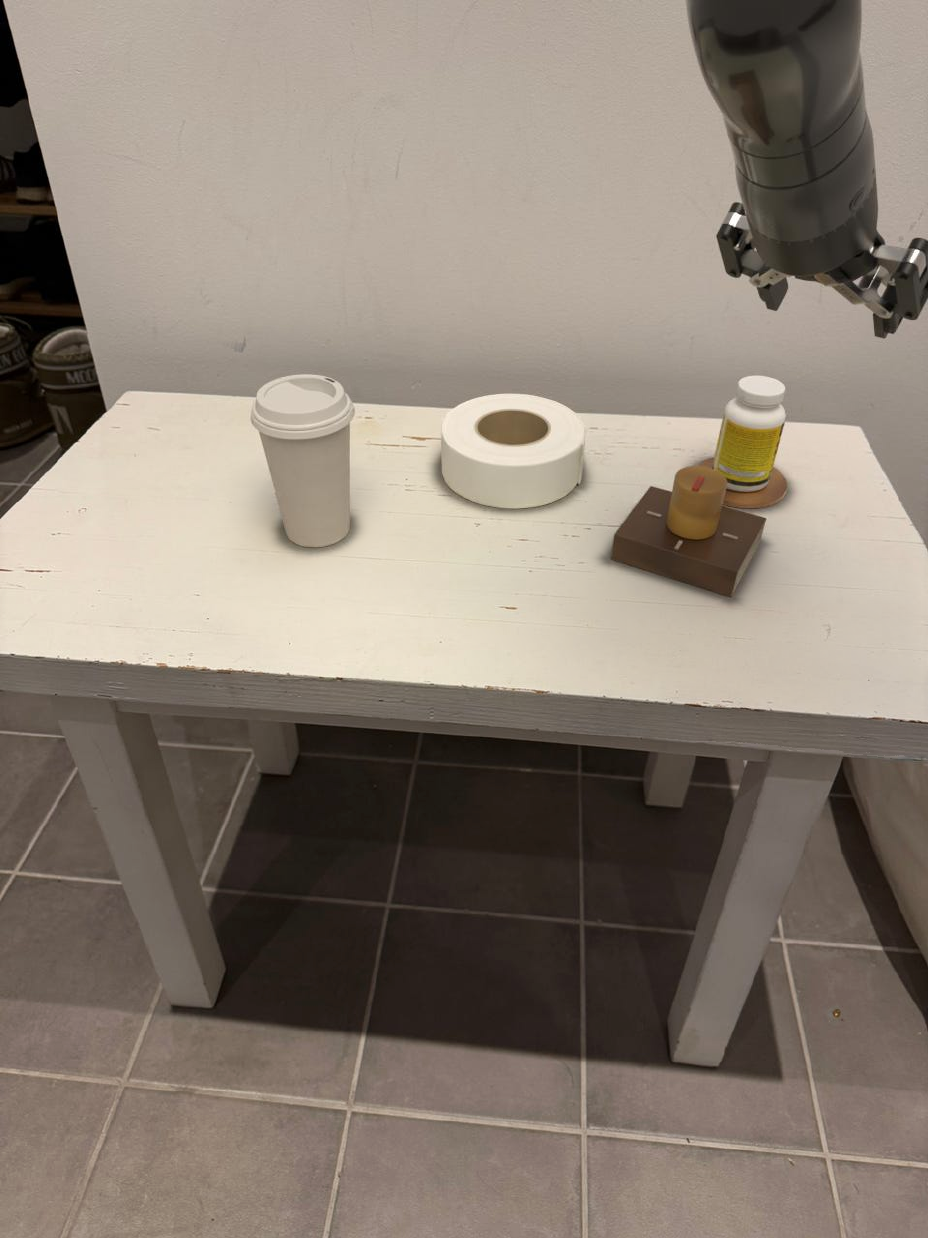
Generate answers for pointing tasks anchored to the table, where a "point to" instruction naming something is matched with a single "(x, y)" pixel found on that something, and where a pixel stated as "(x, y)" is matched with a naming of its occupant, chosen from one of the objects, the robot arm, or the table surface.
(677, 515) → the knob
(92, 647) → the table surface
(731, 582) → the panel
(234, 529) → the table surface
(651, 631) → the table surface
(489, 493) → the tape roll
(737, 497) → the coaster
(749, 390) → the pill bottle
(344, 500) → the coffee cup
